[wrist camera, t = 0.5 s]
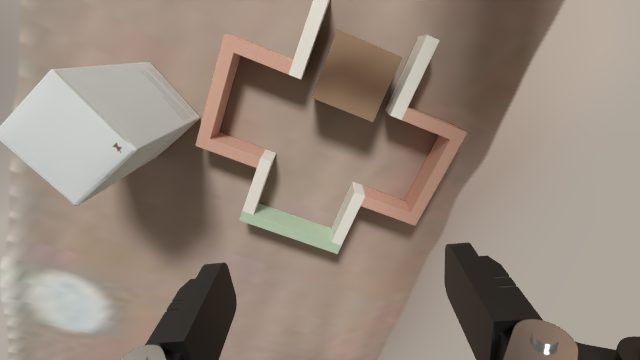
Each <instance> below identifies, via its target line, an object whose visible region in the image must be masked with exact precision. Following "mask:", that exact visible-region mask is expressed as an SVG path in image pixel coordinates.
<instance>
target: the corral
mask: <svg viewBox="0 0 640 360" xmlns="http://www.w3.org/2000/svg"><path fill="white" fill-rule="evenodd" d="M329 2H330V0H313V3H312V6H311V9H310V12H309V15H308V18H307V21H306V24H305V27H304V30H303V33H302V36H301V39H300V42H299V45H298V48H297V51H296V54H295V57H294V60H293V59H290V58H288V57H285V56H283V55H281V54H278V53H276V52H273V51H271V50H268V49H266V48H263V47H261V46H259V45H256V44H254V43H251V42H249V41H246V40H244V39H241V38H239V37H236V36H234V35H229V34H224V36H223V40H222V44H221V48H220V52H219V56H218V60H217V63H216V67H215V71H214V75H213V79H212V83H211V87H210V91H209V94H208V98H207V102H206V106H205V110H204V114H203V118H202V121H201V125H200V129H199V133H198V137H197V141H196V145H195V146H198V147H200V148H203V149H206V150H208V151H211V152H214V153H217V154H219V155H222V156H225V157H228V158H230V159H233V160H236V161H239V162H241V163H244V164H247V165H250V166H252V167H255V168H257V169H256V172H255V175H254V178H253V181H252V184H251V187H250V190H249V193H248V196H247V199H246V202H245V205H244V208H243V211H242V214H241V217H240V221H242V222H245V223H248V224H251V225H254V226H257V227H260V228H263V229H266V230H269V231H271V232H274V233H277V234H280V235H283V236H286V237H289V238H292V239H295V240H298V241H301V242H303V243H306V244H309V245H312V246H315V247H318V248H321V249H324V250H327V251H330V252H333V253H335V254H338V252H339V250H340V248H341V246H342V243H343V241H344V239H345V237H346V235H347V233H348V231H349V229H350V227H351V225H352V223H353V220H354V218H355V216H356V214H357V212H358V210H359V208H360V206H362V207H365V208H368V209H370V210H373V211H376V212H379V213H381V214H384V215H387V216H390V217H392V218H395V219H398V220H401V221H403V222H406V223H409V224H412V225H414V226H416V224H417V222H418V220H419V219H420V217H421V215H422V213H423V211H424V210H425V208H426V206H427V204H428V202H429V201H430V199H431V197H432V195H433V193H434V192H435V190H436V188H437V186H438V185H439V183H440V181H441V179H442V177H443V176H444V174H445V172H446V170H447V168H448V167H449V165H450V163H451V161H452V159H453V158H454V156H455V154H456V152H457V151H458V149H459V147H460V145H461V143H462V142H463V140H464V138H465V136H466V134H467V132H465V131H464V130H462V129H460V128H459V127H457V126H455V125H452V124H450V123H447V122H445V121H442V120H440V119H437V118H435V117H433V116H430V115H428V114H425V113H423V112H420V111H418V110H415V109H413V108H411V107H408V106H409V103H410V101H411V99H412V97H413V95H414V93H415V91H416V89H417V87H418V85H419V83H420V80H421V78H422V76H423V74H424V72H425V70H426V68H427V66H428V64H429V62H430V60H431V57H432V55H433V53H434V51H435V49H436V47H437V45H438V43H439V41H440V40H438V39H436V38H433V37H431V36H429V35H424V36H419V37H418V39H417V41H416V43H415V45H414V48H413V50H412V52H411V54H410V56H409V59H408V61H407V63H406V65H405V67H404V69H403V72H402V74H401V76H400V78H399V80H398V83H397V85H396V87H395V89H394V91H393V94H392V96H391V98H390V100H389V102H388V105H387V107H386V109H385V111H386V112H387V113H388V114H389V115H390V116H393V117H395V118H398V119H400V120H403V121H405V122H408V123H410V124H413V125H415V126H418V127H420V128H423V129H425V130H428V131H430V132H433V133H435V134H437V135H439V136H438V138H437V140H436V142H435V144H434V146H433V147H432V149H431V151H430V153H429V155H428V157H427V159H426V161H425V163H424V165H423V166H422V168H421V170H420V172H419V174H418V176H417V178H416V180H415V182H414V183H413V185H412V187H411V189H410V191H409V193H408V195H407V197H406V199H405V200H404V201H403V200H400V199H398V198H395V197H392V196H390V195H387V194H384V193H382V192H379V191H376V190H374V189H371V188H368V187H365V186H363V185H360V184H357V183H355V182H352V184H351V186H350V188H349V190H348V193H347V195H346V197H345V199H344V201H343V203H342V206H341V208H340V210H339V212H338V214H337V217H336V219H335V221H334V223H333V225H332V228H328V227H325V226H323V225H320V224H317V223H314V222H311V221H308V220H306V219H303V218H300V217H297V216H294V215H291V214H288V213H286V212H283V211H280V210H277V209H274V208H271V207H269V206H266V205H263V204H260V203H259V200H260V197H261V195H262V192H263V189H264V186H265V183H266V180H267V178H268V175H269V172H270V169H271V166H272V164H273V161H274V158H275V155H276V153H274V152H271V151H269V150H266V149H263V148H261V147H258V146H255V145H253V144H250V143H247V142H245V141H242V140H239V139H236V138H234V137H231V136H228V135H226V134H223V133H220V132H219V131H220V128H221V124H222V120H223V117H224V113H225V110H226V106H227V103H228V99H229V95H230V92H231V88H232V85H233V81H234V78H235V74H236V71H237V67H238V63H239V60H240V56H243V57H246V58H248V59H251V60H253V61H256V62H258V63H261V64H263V65H266V66H268V67H271V68H273V69H276V70H278V71H281V72H283V73H286V74H288V75H291V76H293V77H296V78H298V79H302V78H303V76H304V73H305V70H306V67H307V64H308V62H309V59H310V56H311V53H312V50H313V47H314V45H315V42H316V39H317V36H318V33H319V30H320V28H321V25H322V22H323V19H324V16H325V13H326V11H327V8H328V5H329Z"/></svg>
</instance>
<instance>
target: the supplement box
mask: <svg viewBox="0 0 640 360" xmlns="http://www.w3.org/2000/svg"><path fill="white" fill-rule="evenodd" d="M199 119H200V117H199V116H198V115H197V114H196V113H195V112H194V110H193V109H192V108H191V107H190V106H189V105H188V104H187V103H186V102H185V101H184V99H183V98H182V97H181V96H180V95H179V94H178V93H177V92H176V91H175V89H174V88H173V87H172V86H171V85H170V84H169V83H168V82H167V81H166V79H165V78H164V77H163V76H162V75H161V74H160V73H159V72H158V71H157V70H156V69H155V68H154V67H153V65H152V64H151V63H149V62H143V63H129V64H116V65H104V66H91V67H79V68H65V69H51V70H50V71H49V72H48V73H47V75H46V76H45V77H44V78H43V79H42V80H41V81H40V82H39V83H38V85H37V86H36V87H35V88H34V89H33V90H32V91H31V92H30V93H29V95H28V96H27V97H26V98H25V99H24V100H23V101H22V102H21V103H20V105H19V106H18V107H17V108H16V109H15V110H14V111H13V112H12V114H11V115H10V116H9V117H8V118H7V119H6V120H5V121H4V123H3V124H2V125H1V126H0V141H1V142H2V143H4V144H5V145H6V146H7V147H9V149H10V150H12V151H13V152H14V153H15V154H16V155H17V156H19V157H20V158H21V159H22V160H23V161H24V162H25V163H26V164H28V165H29V166H30V167H31V168H32V169H33V170H35V171H36V172H37V173H38V174H39V175H40V176H42V177H43V178H44V179H45V180H46V181H47V182H49V183H50V184H51V185H52V186H53V187H54V188H55V189H56V190H58V191H59V192H60V193H61V194H62V195H63V196H64V197H65V198H66V199H68V200H69V201H70V202H71V203H72V204H73V205H74V206H77V205H79V204H81V203H82V202H84V201H86V200H88V199H89V198H91V197H93V196H94V195H96V194H98V193H99V192H101V191H103V190H104V189H106V188H107V187H109V186H110V185H112V184H114V183H115V182H117V181H118V180H120V179H122V178H123V177H125V176H126V175H128V174H130V173H131V172H133V171H134V170H136V169H138V168H139V167H141V166H142V165H144V164H146V163H148V162H149V161H151V160H152V159H154V158H156V157H157V156H158V155H160V154H161V153H162V152H163V151H164V150H166V149H167V148H168V147H169V146H170V145H171V144H172V143H174V142H175V141H176V140H177V139H178V138H179V137H180V136H181V135H182V134H184V133H185V132H186V131H187V130H188V129H189V128H190V127H191V126H192V125H194V124H195V123H196V122H197V121H198V120H199Z"/></svg>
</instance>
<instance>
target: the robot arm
mask: <svg viewBox="0 0 640 360" xmlns="http://www.w3.org/2000/svg"><path fill="white" fill-rule="evenodd" d="M445 288H446V292H447V296H448V298H449V301H450V303H451V305H452V307H453V309H454V311H455V314H456V316H457V318H458V320H459V323H460V324H461V327H462V329H463V331H464V333H465V336H466V338H467V340H468V342H469V344H470V346H471V349H472V351H473V353H474V355H475V358H476V360H640V337H627V338H624V339H622V340H621V341H620V342H619V344H618V346H617V349H616V350H612V349H607V348H601V347H596V346H590V345H585V344H581V343H578V342H575V341H574V339H573V338H572V337H571V336H570V335H569V334H568V333H567V332H566V331H564V330H563V329H561V328H560V327H558V326H556V325H554V324H552V323H549V322H546V321H543V320H542V318H541V317H540V316H539V314H538V313H537V312H536V310H535V309H534V308H533V306H532V305H531V304H530V302H529V301H528V300H527V299H526V297H525V296H524V295H523V293H522V292H521V291H520V289H519V288H518V287H516V284H515V283H514V281H513V280H512V279H511V278H509V275H508V273H507V272H506V271H505V270H504V268H503V267H502V266H501V264H499V263H498V262H496V261H495V260H493V259H491V258H490V257H489V256H478V254H477V253H476V251H475V250H474V248H473V247H472V245H471V244H470V243H458V244H447V245H446V248H445ZM172 301H173V302H172V303H171V304H170V305H169V307H168V309H167V312H165V314H164V315H163V317H162V318H161V320H160V322H159V323H158V325H157V327H156V328H155V330H154V331H153V333H152V335H151V336H150V338H149V340H148V341H147V343H146V344H145V346H142V347H139V348H137V349H134V350H133V351H131V352H129V353H128V354H126V355H125V356H124V357H123V358H121V359H120V360H219V357H220V354H221V351H222V348H223V346H224V343H225V340H226V337H227V334H228V332H229V329H230V326H231V323H232V320H233V317H234V315H235V311H236V294H235V291H234V287H233V283H232V280H231V276H230V272H229V269H228V266H227V264H226V263H216V264H205V265H204V266H203V267H202V269H201V270H200V272H199V274H198V276H197V277H196V279H190V280H189V281H188V282H187V283H186V284H185V285H184V286H183V287H181V288H180V289H179V291H178V292H177V294H176V296H175V297H174V299H173V300H172Z"/></svg>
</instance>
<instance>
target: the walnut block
mask: <svg viewBox="0 0 640 360" xmlns="http://www.w3.org/2000/svg"><path fill="white" fill-rule="evenodd" d="M401 59H402V57H400V56H398V55H396V54H393V53H391V52H389V51H386V50H384V49H382V48H379V47H377V46H375V45H372V44H370V43H368V42H365V41H363V40H361V39H358V38H356V37H354V36H351V35H349V34H347V33H344V32H342V31H340V30H337V31H336V34H335V36H334V39H333V42H332V44H331V47H330V50H329V52H328V55H327V58H326V60H325V63H324V66H323V68H322V71H321V74H320V76H319V79H318V82H317V85H316V87H315V90H314V93H313V95H312V98H313V99H316V100H318V101H321V102H323V103H326V104H328V105H331V106H333V107H336V108H338V109H341V110H343V111H346V112H348V113H351V114H353V115H356V116H358V117H361V118H363V119H366V120H368V121H371V122H373V121H374V119H375V117H376V114H377V112H378V110H379V108H380V106H381V103H382V101H383V99H384V97H385V94H386V92H387V90H388V88H389V86H390V83H391V81H392V79H393V77H394V75H395V72H396V70H397V68H398V66H399V64H400V61H401Z"/></svg>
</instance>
